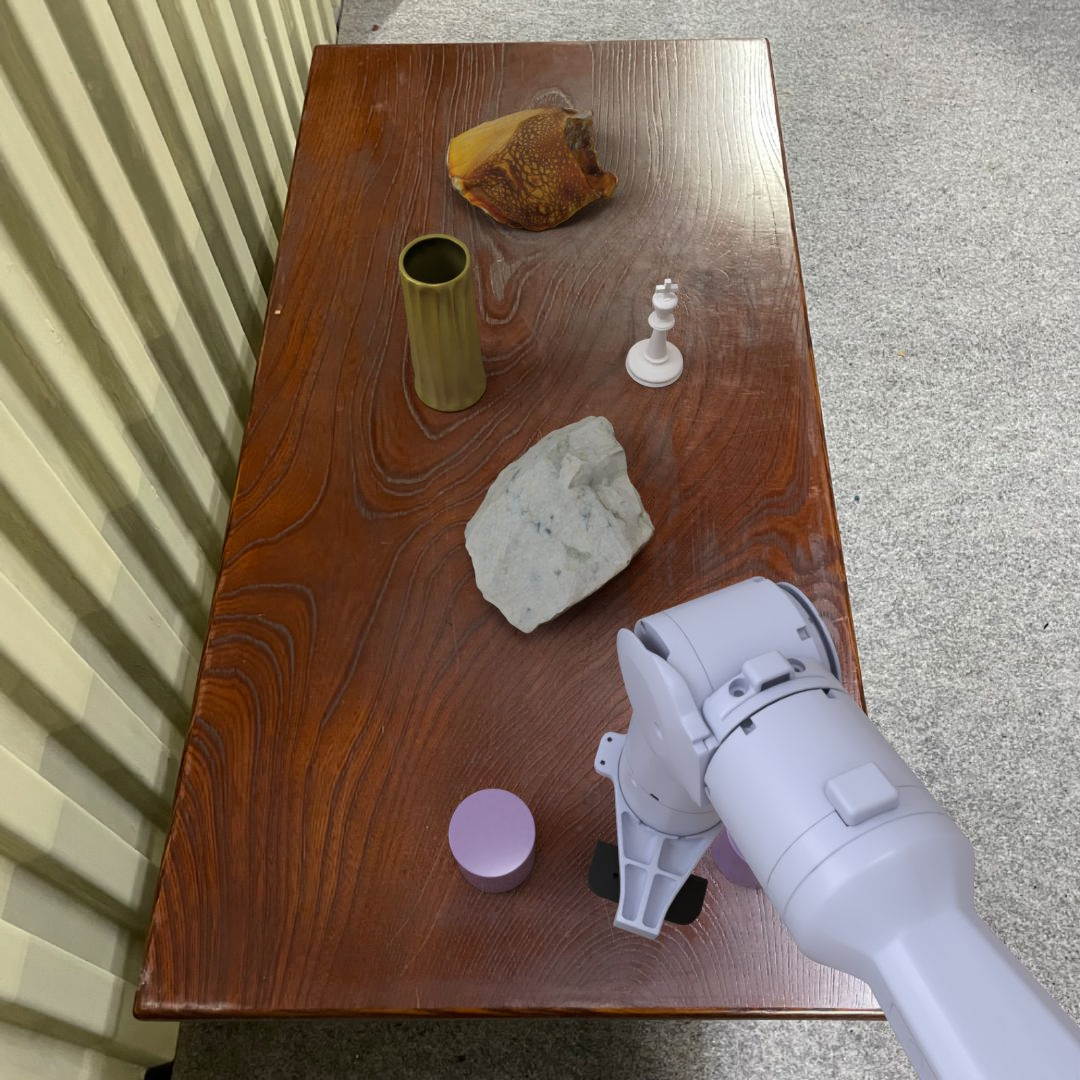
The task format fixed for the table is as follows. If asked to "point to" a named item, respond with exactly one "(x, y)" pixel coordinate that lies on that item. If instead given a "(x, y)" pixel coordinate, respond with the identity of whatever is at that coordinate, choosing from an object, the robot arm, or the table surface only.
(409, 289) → the vase
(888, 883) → the robot arm
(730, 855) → the purple round peg
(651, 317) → the chess piece
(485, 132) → the seashell
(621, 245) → the table surface
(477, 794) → the lavender cylinder post
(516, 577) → the rock
